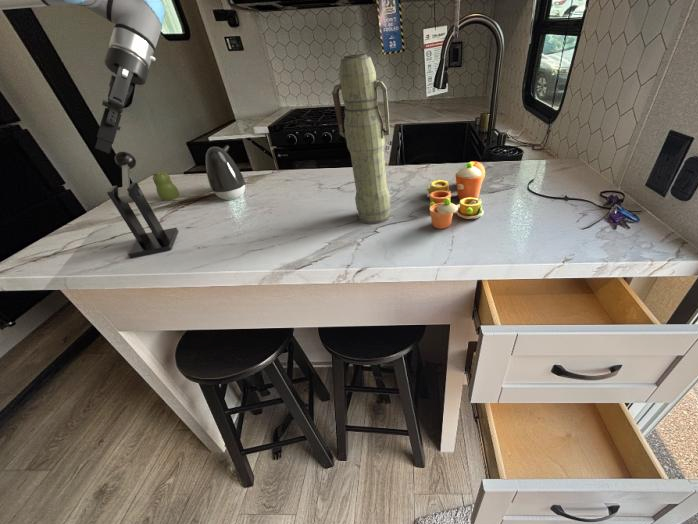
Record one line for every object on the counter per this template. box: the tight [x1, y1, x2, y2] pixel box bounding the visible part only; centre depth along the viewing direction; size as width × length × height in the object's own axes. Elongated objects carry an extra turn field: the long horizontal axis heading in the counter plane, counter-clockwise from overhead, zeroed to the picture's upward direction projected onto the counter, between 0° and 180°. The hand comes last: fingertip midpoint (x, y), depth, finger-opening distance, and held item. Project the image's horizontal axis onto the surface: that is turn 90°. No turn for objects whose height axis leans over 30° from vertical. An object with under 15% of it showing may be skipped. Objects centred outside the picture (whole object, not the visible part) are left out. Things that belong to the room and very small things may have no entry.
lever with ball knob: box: [114, 151, 137, 204], centre depth 80 cm, size 14×4×4 cm, turn 19°
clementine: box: [463, 160, 486, 182], centre depth 100 cm, size 8×7×7 cm
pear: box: [152, 170, 181, 205], centre depth 105 cm, size 6×5×10 cm
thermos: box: [331, 53, 392, 225], centre depth 79 cm, size 9×12×35 cm
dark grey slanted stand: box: [106, 181, 179, 259], centre depth 81 cm, size 11×9×15 cm
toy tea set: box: [425, 161, 484, 230], centre depth 87 cm, size 26×16×10 cm, turn 175°
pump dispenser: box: [205, 144, 246, 201], centre depth 104 cm, size 10×10×15 cm
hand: (103, 146), depth 77 cm, fingers open, 13 cm apart
